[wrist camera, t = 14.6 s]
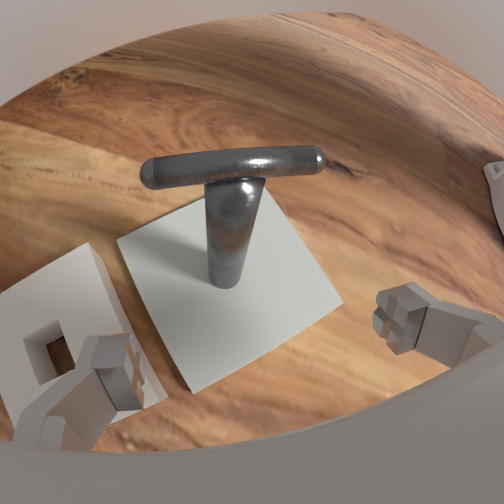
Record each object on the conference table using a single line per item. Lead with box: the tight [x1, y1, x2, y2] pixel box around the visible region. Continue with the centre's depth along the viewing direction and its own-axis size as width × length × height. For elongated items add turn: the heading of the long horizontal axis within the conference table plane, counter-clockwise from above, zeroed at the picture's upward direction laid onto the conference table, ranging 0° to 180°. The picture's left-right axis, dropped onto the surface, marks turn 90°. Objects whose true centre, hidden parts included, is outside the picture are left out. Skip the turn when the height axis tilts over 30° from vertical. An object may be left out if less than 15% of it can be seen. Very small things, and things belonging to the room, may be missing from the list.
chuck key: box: [139, 145, 326, 289], centre depth 14 cm, size 6×2×11 cm, turn 101°
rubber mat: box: [116, 187, 344, 394], centre depth 19 cm, size 11×11×1 cm
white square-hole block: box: [0, 242, 168, 429], centre depth 15 cm, size 10×10×3 cm
